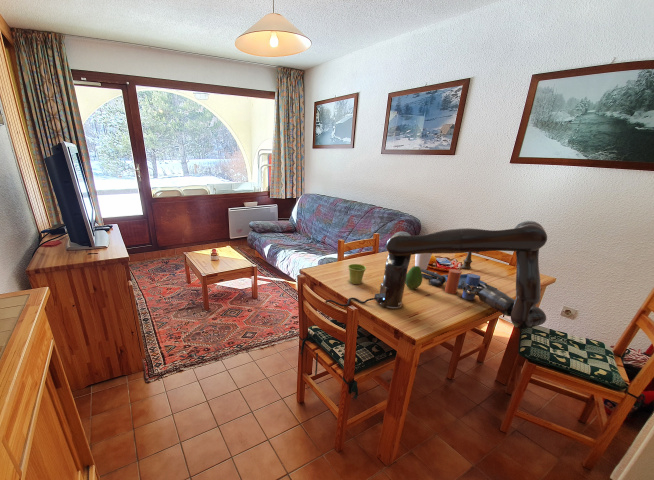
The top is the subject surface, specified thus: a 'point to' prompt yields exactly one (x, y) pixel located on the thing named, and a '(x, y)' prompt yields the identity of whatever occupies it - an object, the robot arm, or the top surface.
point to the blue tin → (471, 280)
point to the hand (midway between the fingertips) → (467, 283)
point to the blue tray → (463, 278)
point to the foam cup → (422, 260)
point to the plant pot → (356, 273)
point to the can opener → (434, 278)
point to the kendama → (467, 261)
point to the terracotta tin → (452, 281)
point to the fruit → (414, 277)
